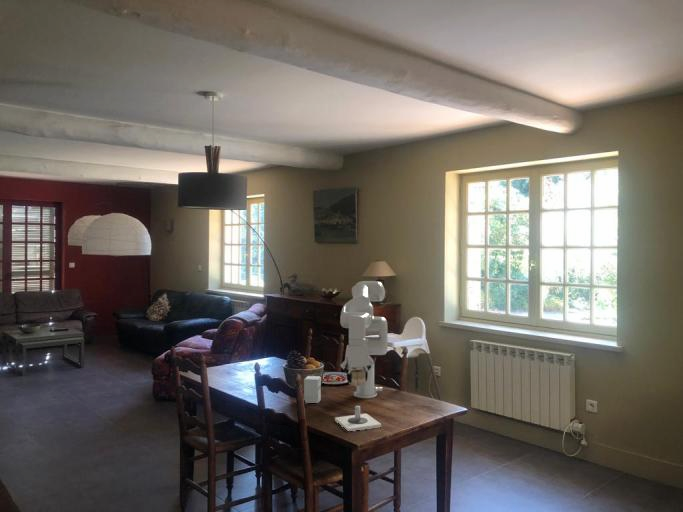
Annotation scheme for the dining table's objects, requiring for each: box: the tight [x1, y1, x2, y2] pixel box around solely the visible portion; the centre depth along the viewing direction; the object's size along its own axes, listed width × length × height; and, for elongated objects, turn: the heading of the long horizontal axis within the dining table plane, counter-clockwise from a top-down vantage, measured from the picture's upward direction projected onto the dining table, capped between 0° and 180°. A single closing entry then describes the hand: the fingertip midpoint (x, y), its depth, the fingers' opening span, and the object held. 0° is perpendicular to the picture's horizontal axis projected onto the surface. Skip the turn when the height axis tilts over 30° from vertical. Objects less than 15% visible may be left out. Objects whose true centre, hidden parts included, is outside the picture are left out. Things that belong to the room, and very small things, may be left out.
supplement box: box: [303, 375, 322, 404], centre depth 282 cm, size 7×7×13 cm
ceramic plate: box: [321, 371, 349, 386], centre depth 324 cm, size 26×26×3 cm
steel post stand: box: [334, 405, 382, 432], centre depth 248 cm, size 16×16×8 cm
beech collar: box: [348, 368, 365, 387], centre depth 247 cm, size 7×7×6 cm
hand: (357, 380), depth 248 cm, fingers closed on beech collar, 7 cm apart
